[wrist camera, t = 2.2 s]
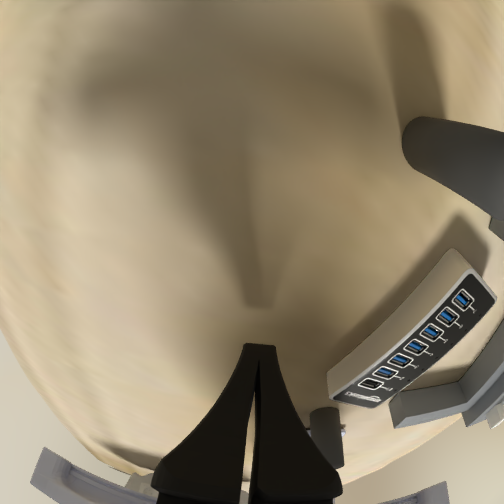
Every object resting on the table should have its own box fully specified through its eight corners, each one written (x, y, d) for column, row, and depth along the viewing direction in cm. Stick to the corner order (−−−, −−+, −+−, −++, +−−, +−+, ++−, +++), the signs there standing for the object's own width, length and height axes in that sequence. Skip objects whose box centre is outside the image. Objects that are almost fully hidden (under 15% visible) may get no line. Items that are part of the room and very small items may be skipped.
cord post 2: (442, 177, 9) (518, 226, 5) (397, 166, 9) (472, 212, 5) (450, 126, 8) (535, 150, 4) (405, 109, 8) (490, 120, 4)
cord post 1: (334, 419, 19) (338, 469, 15) (307, 419, 19) (308, 472, 15) (342, 406, 18) (348, 462, 13) (313, 407, 18) (316, 464, 13)
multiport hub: (480, 277, 12) (499, 300, 10) (367, 384, 17) (372, 410, 15) (447, 241, 11) (471, 265, 9) (322, 370, 16) (325, 399, 14)
